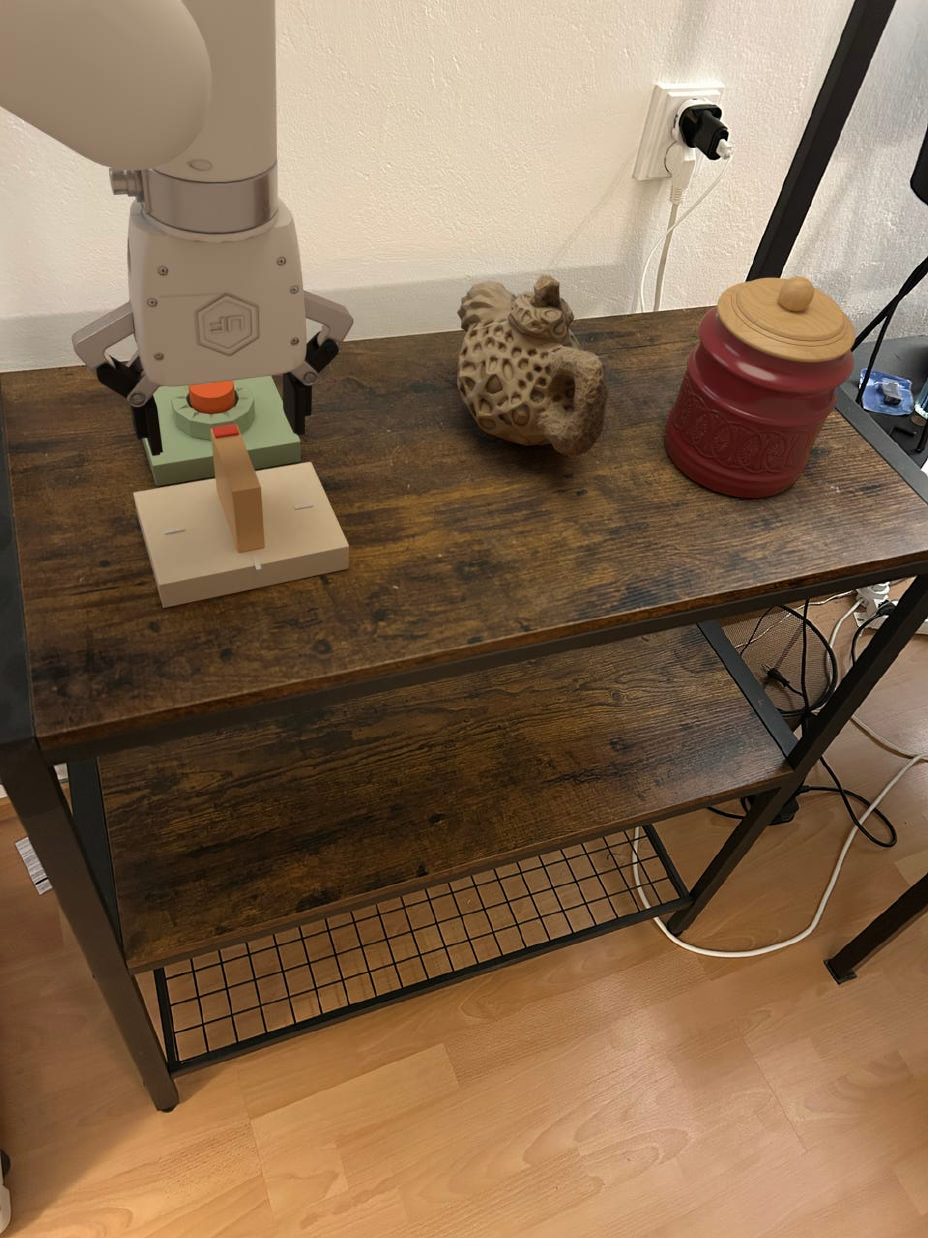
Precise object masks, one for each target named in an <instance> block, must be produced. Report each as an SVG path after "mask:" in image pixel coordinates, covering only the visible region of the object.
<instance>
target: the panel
mask: <svg viewBox="0 0 928 1238" xmlns="http://www.w3.org/2000/svg"><path fill="white" fill-rule="evenodd" d="M255 472H256V475H257V478H258V480H259V483H260V485H261V495H262V510H263V526H264V542H265V547H264V548H259V549H254V550H249V551H244V552H238V551H237V548H236V545H235V542H234V539H233V536H232V533H231V531H230V528H229V525H228V522H227V519H226V516H225V513H224V510H223V507H222V504H221V501H220V498H219V495H218V492H217V488H216V479H215V477H213V478H208V479H204V480H203V479H202V480H198V481H197V480H196V481H191V482H187V483H181V484H174V485H169V486H163V487H157V488H152V489H147V490H139V491H134V492H133V493H132V494H133V499H134V500H133V501H134V505H135V510H136V515H137V519H138V522H139V527H140V530H141V533H142V537H143V541H144V544H145V549H146V551H147V555H148V558H149V562H150V566H151V569H152V573H153V576H154V581H155V584H156V587H157V591H158V595H159V598H160V603H161V605H162V608H163V609H165V608H170V607H174V606H175V607H176V606H179V605H185V604H188V603H193V602H197V601H198V602H199V601H203V600H207V599H208V600H209V599H212V598H217V597H221V596H226V595H230V594H231V595H232V594H235V593H240V592H246V591H251V590H255V589H259V588H260V589H261V588H264V587H267V586H273V585H277V584H283V583H287V582H292V581H297V580H301V579H306V578H311V577H316V576H320V575H324V574H329V573H335V572H338V571H344V570H348V569H349V566H350V564H349V562H350V545H349V542H348V540H347V538H346V536H345V534H344V532H343V531H344V530H342V527H341V525H340V522H339V520H338V518H337V516H336V514H335V511H334V510H333V507H332V505H331V503H330V501H329V499H328V495H327V494H326V492H325V489H324V487H323V485H322V483H321V481H320V478H319V476H318V474H317V471H316V469H315V468H314V465H313V463H312V461H307V462H300V463H294V464H290V465H284V466H278V467H273V468H267V469H261V470H255Z"/></svg>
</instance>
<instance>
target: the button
mask: <svg viewBox="0 0 928 1238" xmlns="http://www.w3.org/2000/svg"><path fill="white" fill-rule="evenodd" d="M188 387H189V395H190V403H191V405H192V407H193V408H194V409H195V410H196V411H198V412H200V413H205V414H218V413H225V412H227V411H228V410H230V409H231V408H232V407H233V406H234V404H235V393H234V383H233V381H225V382H216V383H207V384H199V385H189V386H188Z"/></svg>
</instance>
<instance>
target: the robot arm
mask: <svg viewBox="0 0 928 1238" xmlns="http://www.w3.org/2000/svg"><path fill="white" fill-rule="evenodd" d="M276 23H277V22H276V0H0V107H1V108H2V109H4V110H5V111H7V112H9V113H11V114H12V115H14V116H15V117H18V118H19V119H20V120H22V121H24V122H25V123H26V124H29V125H31V126H32V127H33V128H36V129H37V130H39V131H40V132H42V133H44V134H45V135H47V136H49V137H50V138H52V139H54V140H55V141H57V142H59V143H60V144H62V145H63V146H65V147H67V148H68V149H70V150H72V151H74V152H75V153H76V154H79V155H80V156H82V157H83V158H85V159H88V160H89V161H91V162H93V163H95V164H98V165H100V166H103V167H106V168H108V176H109V183H110V186H111V191H112V195H113V196H119V195H120V196H121V195H122V196H123V195H127V197H129V198H131V197H133V198H135V199H134V200H133V201H132V202H131V204H130V208H129V216H128V225H127V226H128V227H127V228H128V229H127V246H126V247H127V250H126V251H127V252H126V253H127V254H126V256H127V258H126V260H127V262H126V263H127V264H126V265H127V280H128V281H127V285H128V286H127V287H128V301H127V302H126V303H124V304H122V305H120V306H118V307H117V308H115V309H113V310H112V311H109V312H108V313H107V314H105V315H103V316H101V317H99V318H97V319H95V320H94V321H92V322H91V323H89V324H87V325H86V326H84V327H82V328H80V329H79V330H77V331H74V333H72V335H71V342H72V346H73V351H74V353H75V354H76V356H77V357H78V358H79V359H80V360H81V361H82V363H84V364H85V366H86V367H87V369H89V370H90V371H91V372H92V373H93V374H94V376H95V377H97V380H98V382H99V383H100V384H102V385H104V386H105V387H107V388H108V389H109V390H111V391H113V392H115V393H116V394H119V395H120V396H121V397H124V398H125V399H126V400H127V403H128V404H129V405H130V410H131V418H132V423H133V429H134V432H135V433H134V434H135V435H136V439H137V440H142V439H143V438H147V440H148V444H149V447H150V450H151V453H152V456H157V455H160V453H163V448H162V440H161V432H160V424H159V416H158V409H157V405H156V402H155V399H154V396H153V394H154V393H155V392H156V390H157V389H158V388H159V387H161V386H168V387H177V386H189V385H199V384H207V383H216V382H225V381H233V380H241V379H249V378H257V377H265V376H271V377H272V376H278V375H282V401H283V410H284V413H285V416H286V418H287V420H288V422H289V424H290V427H291V429H292V431H293V433H294V434H296V435H298V436H303V435H305V434H306V417H310V416H312V413H313V412H312V411H313V410H312V409H313V386H314V385H315V384H316V383H318V381H319V379H320V375H319V374H320V373H321V372H322V371H323V370H324V369H325V368H326V367H327V366H328V365H329V364H330V363H331V362H332V361H333V360H334V359H335V358H336V357H337V356H338V355H339V352H340V348H339V347H340V345H341V344H343V342H344V340H345V339H346V337H347V335H348V334H349V333H350V330H351V329H352V326H353V325H354V322H355V321H354V318H353V316H352V315H351V313H350V311H349V310H348V308H347V307H346V306H345V305H343V304H340V303H338V302H335V301H333V300H330V299H328V298H325V297H323V296H319V295H317V294H315V293H313V292H310V291H307V290H305V289H304V281H303V270H302V261H301V255H300V247H299V242H298V241H299V240H298V234H297V229H296V224H295V220H294V216H293V213H292V211H291V210H290V208H289V207H288V206H287V205H286V203H285V202H284V201H283V200H282V199H281V198H280V197H279V178H278V177H279V176H278V173H279V172H278V166H279V165H278V132H277V131H278V123H277V121H278V119H277V117H278V116H277V115H278V114H277V113H278V111H277V110H278V109H277V107H278V105H277V43H276V42H277V36H276V35H277V34H276V32H277V30H276V29H277V28H276V26H277V25H276ZM306 320H311V321H313V322H315V323H318V324H320V325H322V326H321V330H319V331H317V333H315V334H314V335H313V336H312V337H311V339H309V341H307V339H308V338H307V321H306ZM131 335H133V338H134V341H135V343H136V347H137V350H136V351H135V353H134V354H133V355H132V356H131V358H130V359H129V360H128V362H126V364H124V363H123V362H121V361H120V360H118V359H116V358H115V357H114V356H112V355H110V354H108V352H107V350H108V349H110V347H112V346H114V345H116V344H117V343H119V342H121V341H123V340H125V339H126V338H128V337H130V336H131Z"/></svg>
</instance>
